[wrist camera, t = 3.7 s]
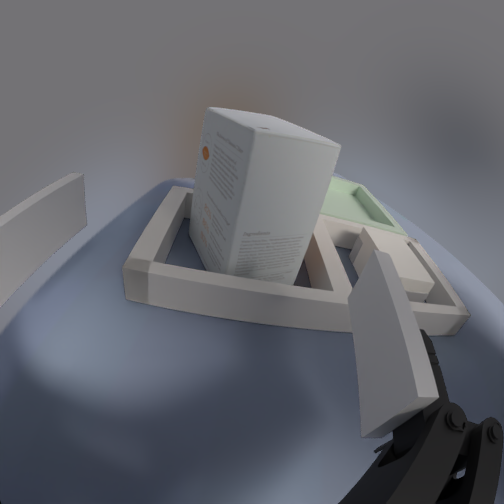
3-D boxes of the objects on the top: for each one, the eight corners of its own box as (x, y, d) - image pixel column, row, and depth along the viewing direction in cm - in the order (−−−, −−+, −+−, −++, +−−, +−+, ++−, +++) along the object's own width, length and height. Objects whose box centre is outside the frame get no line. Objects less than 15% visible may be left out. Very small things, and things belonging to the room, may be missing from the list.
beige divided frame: (405, 256, 28) (416, 236, 27) (454, 335, 18) (472, 312, 17) (171, 209, 25) (173, 182, 23) (125, 299, 15) (121, 262, 14)
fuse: (385, 264, 26) (400, 236, 24) (414, 315, 20) (436, 284, 18) (348, 257, 25) (362, 225, 23) (372, 311, 19) (394, 276, 17)
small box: (292, 290, 19) (346, 146, 14) (218, 303, 17) (256, 128, 11) (247, 230, 25) (275, 115, 19) (186, 233, 22) (205, 104, 17)
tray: (357, 199, 41) (363, 185, 40) (398, 252, 29) (407, 234, 27) (279, 179, 39) (284, 163, 38) (293, 230, 27) (301, 207, 26)
